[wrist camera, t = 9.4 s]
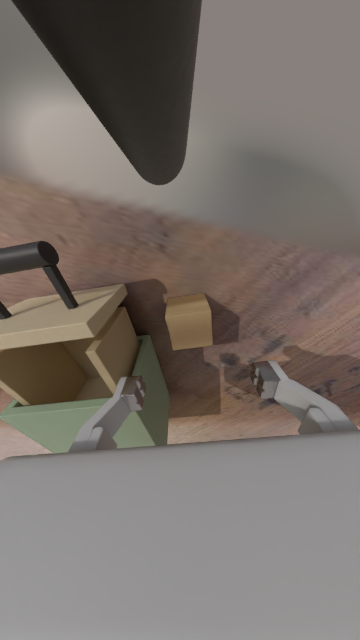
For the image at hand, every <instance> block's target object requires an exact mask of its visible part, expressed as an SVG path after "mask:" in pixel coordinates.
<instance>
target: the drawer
mask: <svg viewBox="0 0 360 640" xmlns="http://www.w3.org/2000/svg"><path fill="white" fill-rule="evenodd" d="M58 262H59V257H58V254H57V252H56V250H55V249H54V247H53V246H52V245H51V244H49V243H48V242H45V241H38V242H33V243H27V244H22V245H17V246H12V247H6V248H1V249H0V275H1V274H7V273H13V272H19V271H24V270H30V269H36V268H41V267H43V270H44V271H45V273H46V274H47V276H48V278H49V279H50V281H51V283H52V284H53V286H54V287H55V289H56V291H57V292H58V294H56V295H50V296H43V297H37V298H31V299H26V300H24V301H22V302H20V303H18V304H16V305H13V306H11V307H9V308H7V309H6V307H5V306H4V305H3V304H2V303H1V302H0V388H2V389H3V390H4V391H6V392H7V393H8V394H9V395H11V396H12V397H13V398H15V399H16V400H17V401H18V402H20V403H21V404H22V405H24V406H32V405H42V404H52V403H61V402H71V401H81V400H90V399H100V398H109V397H113V395H114V392H115V390H116V387H117V385H118V382H119V380H120V378H121V377H128V376H132V373H133V370H134V366H135V363H136V360H137V357H138V354H139V350H140V347H141V346H140V344H139V341H138V339H137V336H136V334H135V331H134V328H133V326H132V323H131V321H130V318H129V316H128V313H127V310H126V308H125V307H119V308H117V307H118V306H119V304H120V303H121V302H122V301H123V299H124V298H125V297H126V295H127V294H128V293H127V290H126V287H125V285H124V284H118V285H112V286H106V287H100V288H93V289H87V290H81V291H75V292H71V291H70V289H69V287H68V285H67V283H66V282H65V280H64V278H63V276H62V275H61V273H60V271H59V269H58V268H57V266H56V264H57V263H58Z"/></svg>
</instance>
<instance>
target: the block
mask: <svg viewBox="0 0 360 640" xmlns="http://www.w3.org/2000/svg"><path fill="white" fill-rule="evenodd" d="M165 319H166V323H167V327H168V332H169V336H170V340H171V344H172V348H173V350H181V349H189V348H198V347H206V346H213V336H212V316H211V309H210V306H209V304H208V301H207V299H206V296H205V294H204V293H201V294H194V295H187V296H181V297H174V298H168V300H167V307H166V314H165Z"/></svg>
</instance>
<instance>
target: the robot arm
mask: <svg viewBox="0 0 360 640" xmlns="http://www.w3.org/2000/svg"><path fill="white" fill-rule="evenodd" d="M251 367H252V370H251V371H250V375H251V379H252V382H253V384H254V385H256V386H257V388H256V390H257V392H258V394H259V396H260V398H261V399H265V398H274V399H275V400H276V401H277V402H278V403H280V404H281V405H282V406H283V407H284V408H285V409H287V410H288V411H289V412H290V413H291V414H293V415H294V416H295V417H296V418H297V419H298V420H300V421H301V422H302V423H301V425H300V427H299V430H298V432H299V434H300V435H287V436H274V437H261V438H248V439H235V440H222V441H208V442H195V443H182V444H169V445H156V446H143V447H130V448H117V443H116V442H115V441H114V440H113V437H114V435H115V434H116V432H117V431H118V430H119V428H120V427H121V425H122V424H123V422H124V421H125V420H126V418H127V417H128V415H129V414H130V413H131V411H138V410H142V408H143V403H144V400H143V397H144V396H145V393H146V385H145V382H144V381H142V380H143V377H142V375H140V376H128V377H121V378H120V380H119V382H118V385H117V387H116V390H115V392H114V395H113V397H112V398H110V399H109V400H108V401H107V402H106V403H105V404H104V405H103V406H102V407H101V408H100V409H99V410H98V411H97V412H96V413H95V414H94V415H93V416H92V417H91V418H90V419H89V420H88V421H87V422H86V423H85V424H84V425H83V426H82V427H81V428H80V429H79V431H78V433H77V435H76V437H75V439H74V441H73V443H72V445H71V447H70V449H69V451H68V452H64V453H51V454H38V455H25V456H12V457H8V458H5V459H3V460H2V461H0V640H360V430H359V429H358V428H357V427H356V426H355V425H354V424H353V423H352V422H351V420H350V419H349V418H348V417H347V416H346V415H345V414H344V413H343V412H342V410H341V409H340V408H339V407H338V406H337V405H336V404H334V403H332V402H330V401H329V400H327V399H325V398H323V397H322V396H320V395H318V394H317V393H315V392H313V391H311V390H310V389H308V388H306V387H304V386H303V385H301V384H299V383H298V382H296V381H294V380H292V379H289V378H288V376H287V375H286V374H285V373H284V371H283V370H282V369H281V367H280V366H279V365H278V363H277V362H276V361H275V360H271V361H261V362H253V363H252V364H251Z"/></svg>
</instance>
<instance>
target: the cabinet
mask: <svg viewBox="0 0 360 640" xmlns="http://www.w3.org/2000/svg"><path fill="white" fill-rule="evenodd" d="M137 339H138V341H139V344H140V346H141V347H140V350H139V354H138V357H137V360H136V363H135V366H134V370H133V373H132V376H140V375H142V377H143V380H142V381H144V382H145V385H146V393H145V396H144V397H143V400H144V403H143V408H142V410H138V411H131V413H130V414H129V415H128V417H127V418H126V420H125V421H124V422H123V424H122V425H121V427H120V428H119V430H118V431H117V432H116V434H115V435H114V437H113V440H114V441H115V442H116V443H117V448H130V447H143V446H156V445H167V437H168V417H169V397H170V395H169V392H168V389H167V386H166V383H165V380H164V377H163V374H162V371H161V368H160V365H159V362H158V359H157V355H156V352H155V349H154V346H153V343H152V340H151V337H150V335H142V336H137ZM110 398H112V397H109V398H100V399H90V400H81V401H71V402H61V403H52V404H42V405H32V406H24V405H22V404H21V403H20V402H18V401H17V400H16V399H14V400H13V401H12V402H11V403H10V404H9V405H8V406H7V407H6V408H5V409H4V410H3V411H2V412H1V413H0V419H1V420H3V421H4V422H6V423H7V424H9V425H10V426H12V427H14V428H15V429H17V430H18V431H20V432H21V433H23V434H25V435H26V436H28V437H29V438H31V439H32V440H34V441H36V442H37V443H39V444H40V445H42V446H43V447H45V448H46V449H48V450H50V451H51V452H53V453H64V452H68V451H69V449H70V447H71V445H72V443H73V441H74V439H75V437H76V435H77V433H78V431H79V429H80V428H81V427H82V426H83V425H84V424H85V423H86V422H87V421H88V420H89V419H90V418H91V417H92V416H93V415H94V414H95V413H96V412H97V411H98V410H99V409H100V408H101V407H102V406H103V405H104V404H105V403H106V402H107V401H108V400H109V399H110Z"/></svg>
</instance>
